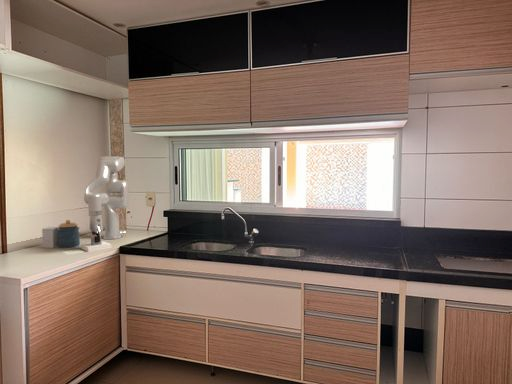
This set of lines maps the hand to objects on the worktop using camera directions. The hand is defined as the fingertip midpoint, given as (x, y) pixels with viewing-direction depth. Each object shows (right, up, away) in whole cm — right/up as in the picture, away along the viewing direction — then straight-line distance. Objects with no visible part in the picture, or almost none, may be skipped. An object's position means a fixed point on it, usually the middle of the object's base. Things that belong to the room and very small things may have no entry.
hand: (96, 241), depth 219 cm
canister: (-21, -4, +7) cm, 23 cm away
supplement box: (-33, -4, +7) cm, 34 cm away
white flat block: (0, -5, 0) cm, 5 cm away
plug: (0, -3, 0) cm, 3 cm away
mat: (-10, -5, -10) cm, 15 cm away
